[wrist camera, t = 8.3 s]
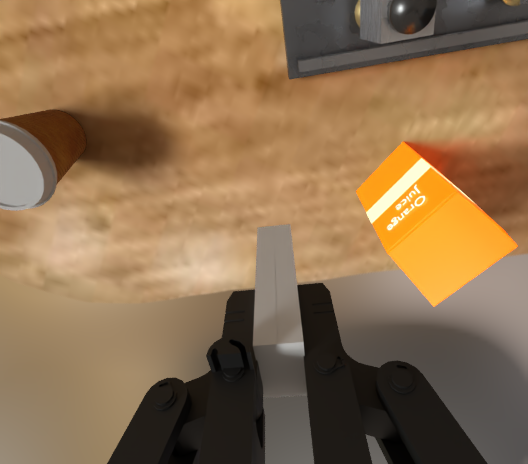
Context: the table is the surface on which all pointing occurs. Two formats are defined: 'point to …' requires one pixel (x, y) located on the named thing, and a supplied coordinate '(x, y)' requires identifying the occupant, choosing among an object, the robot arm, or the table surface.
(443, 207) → the orange juice
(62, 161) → the disposable coffee cup
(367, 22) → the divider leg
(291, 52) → the plate
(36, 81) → the table surface
